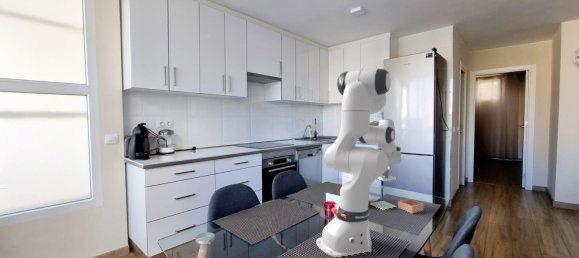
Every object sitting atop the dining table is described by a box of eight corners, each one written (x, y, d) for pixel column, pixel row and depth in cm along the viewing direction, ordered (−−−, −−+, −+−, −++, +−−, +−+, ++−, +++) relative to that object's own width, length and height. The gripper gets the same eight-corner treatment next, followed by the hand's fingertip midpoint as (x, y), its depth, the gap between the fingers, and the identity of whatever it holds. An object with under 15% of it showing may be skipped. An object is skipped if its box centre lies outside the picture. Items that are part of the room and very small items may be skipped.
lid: (386, 182, 136) (386, 172, 135) (371, 177, 145) (371, 169, 145) (400, 179, 141) (400, 170, 140) (384, 175, 150) (385, 167, 150)
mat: (383, 210, 138) (383, 209, 138) (369, 204, 147) (369, 203, 147) (396, 207, 142) (396, 206, 142) (382, 201, 151) (382, 200, 151)
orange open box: (412, 213, 132) (412, 206, 132) (397, 208, 140) (398, 201, 140) (423, 211, 136) (423, 203, 136) (409, 205, 144) (409, 198, 144)
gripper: (376, 150, 135) (375, 175, 135) (403, 147, 144) (402, 172, 145) (367, 148, 140) (367, 173, 141) (394, 146, 149) (393, 169, 150)
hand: (385, 172), depth 143 cm, fingers closed on lid, 3 cm apart
